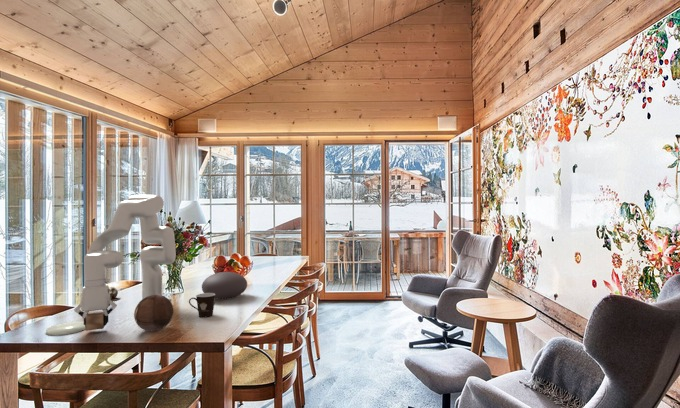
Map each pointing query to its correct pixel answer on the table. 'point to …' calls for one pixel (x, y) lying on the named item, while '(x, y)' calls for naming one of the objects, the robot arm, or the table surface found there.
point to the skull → (113, 293)
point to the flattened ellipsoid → (225, 285)
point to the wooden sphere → (153, 312)
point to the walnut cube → (95, 320)
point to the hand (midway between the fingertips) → (96, 325)
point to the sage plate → (65, 328)
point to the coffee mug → (204, 304)
